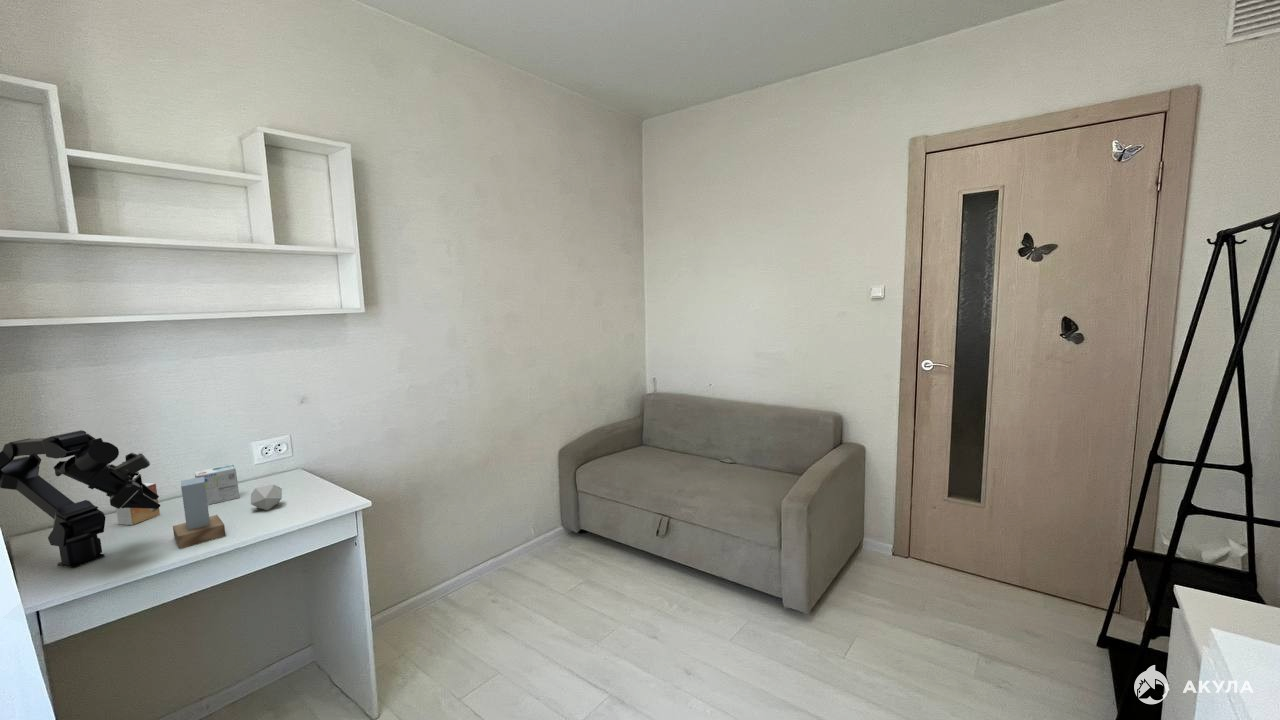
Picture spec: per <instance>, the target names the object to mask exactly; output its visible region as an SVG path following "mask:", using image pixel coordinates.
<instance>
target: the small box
mask: <svg viewBox="0 0 1280 720" xmlns="http://www.w3.org/2000/svg"><path fill="white" fill-rule="evenodd" d="M142 483H143V484H145V485H146V486H147V487H148V488H150V489H151V490H152V491H153V492H155V493H156V494H157V495H158V492H157V491H158V490H157V483H154V482H153V483H152V482H142ZM153 500H154V499H153ZM154 501H156V502H157V503H159V497H158V498H157V499H156V500H154ZM115 510H116V517H117V518H116V519H117V524H118V525H124V526H126V525H127V526H134V525H136V524H138V523H141V522H144V521H148V520H149V519H150V520H151V519H152V518H155V517H158V516H160V515H161V511H160V507H159V508H158V509H149V508H121V507H120V508H119V509H118V508H115Z"/></svg>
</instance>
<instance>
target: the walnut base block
mask: <svg viewBox="0 0 1280 720" xmlns="http://www.w3.org/2000/svg"><path fill="white" fill-rule="evenodd" d="M209 519H210V525H208V526H204V527H200V528H196V529H191V530H187V526H186V522H184V523H179V524H176V525H172V531H173V538H174V541H175V542H176V544H177V546H178V549H179V550H181V549H185V548H188V546H189V547H192V546H195V544H196V545H199V544H203V543H206V542H210V541H213V540H217V539H220V538H223V537H227V534H226V528H225V527H226V526H225V523H224V522H223V521H222V519H221V518H220V516H219V515H218V514H216V515H211V516H210V515H209ZM216 538H217V539H216ZM212 539H213V540H212ZM209 540H210V541H209ZM202 542H203V543H202Z"/></svg>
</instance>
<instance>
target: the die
mask: <svg viewBox="0 0 1280 720" xmlns="http://www.w3.org/2000/svg"><path fill="white" fill-rule="evenodd" d="M282 495H283V488H281V487H280V486H278V485H276V484H274V483H271V482H270V483H269V482H266V481H265V482H264V483H262V484H260V485H257V486H256V487H255V488H254V489H253V491H252V492H251V494H250V505H251V506H253V507H257V508H258V509H261V510H265V511H269V510H270V509H272V508H274V507H275V506H277V505H278V504H279V503H280V501H281V500H282V498H283V496H282Z"/></svg>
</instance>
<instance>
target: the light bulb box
mask: <svg viewBox="0 0 1280 720" xmlns="http://www.w3.org/2000/svg"><path fill="white" fill-rule="evenodd" d="M237 475H238V474H237V470H236V467H235V465H234V464H233V463H232V464H226V465H221V466H215V467H212V468H206V469H202V470H197V471H196V470H195V471H194V476H195V478H199V477H204V481H205V488H206V496H207V504H208V506H209V505H213V504H217V503H221V502H226V501H229V500H235V499H238V498H239V499H240V489H239V483H238V477H237Z"/></svg>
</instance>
